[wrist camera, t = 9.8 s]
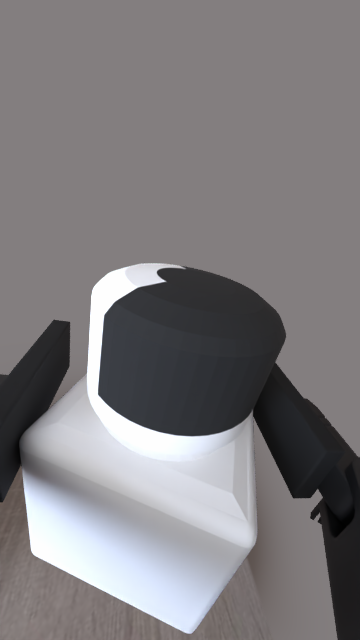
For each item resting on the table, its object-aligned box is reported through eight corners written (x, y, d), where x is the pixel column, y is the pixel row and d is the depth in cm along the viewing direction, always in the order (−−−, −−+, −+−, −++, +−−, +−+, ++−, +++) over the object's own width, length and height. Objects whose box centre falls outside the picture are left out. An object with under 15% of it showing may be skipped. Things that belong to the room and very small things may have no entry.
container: (215, 463, 16) (292, 284, 11) (193, 641, 9) (376, 391, 4) (114, 423, 17) (137, 243, 12) (27, 555, 10) (-12, 269, 5)
